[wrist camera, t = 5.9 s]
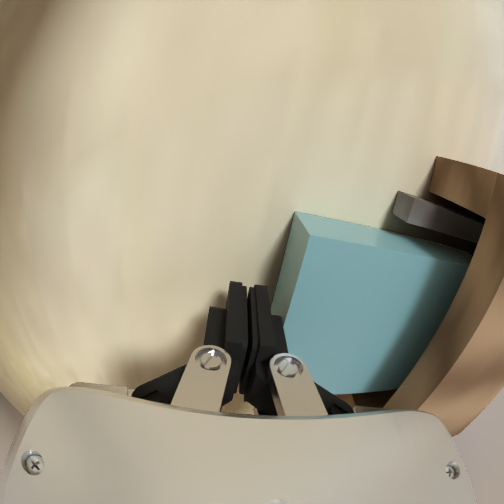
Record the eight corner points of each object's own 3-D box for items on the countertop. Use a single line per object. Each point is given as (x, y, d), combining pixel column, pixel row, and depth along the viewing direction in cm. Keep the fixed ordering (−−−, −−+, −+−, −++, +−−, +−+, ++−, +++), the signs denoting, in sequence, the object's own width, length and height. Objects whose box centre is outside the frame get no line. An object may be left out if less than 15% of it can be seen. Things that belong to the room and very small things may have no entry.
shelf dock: (409, 143, 11) (510, 166, 5) (521, 206, 12) (579, 239, 6) (313, 397, 18) (329, 470, 12) (432, 384, 19) (459, 433, 13)
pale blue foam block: (294, 211, 12) (309, 234, 9) (465, 250, 13) (493, 272, 11) (257, 355, 16) (260, 393, 13) (411, 356, 17) (427, 384, 14)
